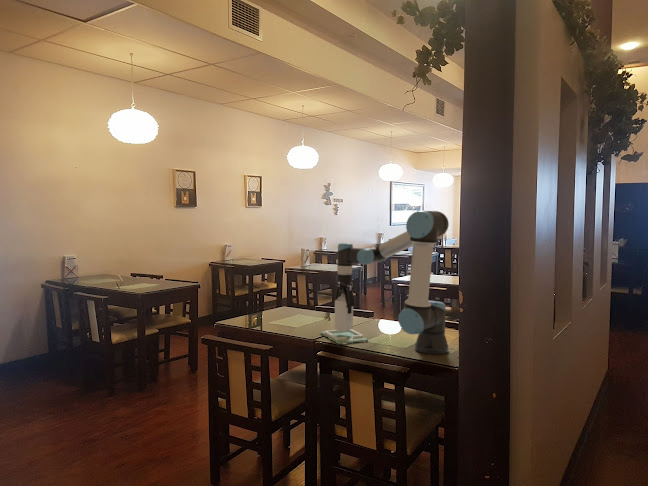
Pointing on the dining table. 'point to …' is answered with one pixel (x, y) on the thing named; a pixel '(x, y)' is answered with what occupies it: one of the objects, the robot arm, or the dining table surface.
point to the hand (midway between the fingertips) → (343, 317)
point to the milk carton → (342, 315)
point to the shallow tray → (344, 336)
